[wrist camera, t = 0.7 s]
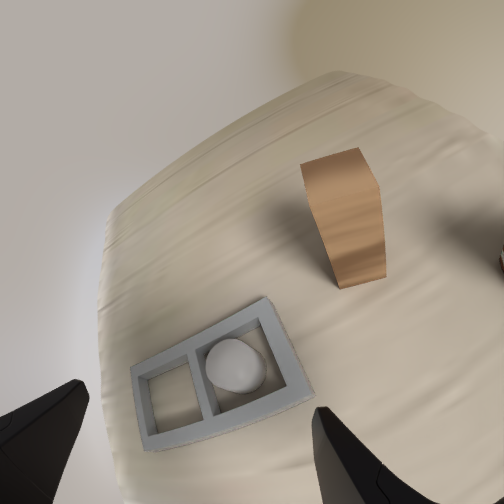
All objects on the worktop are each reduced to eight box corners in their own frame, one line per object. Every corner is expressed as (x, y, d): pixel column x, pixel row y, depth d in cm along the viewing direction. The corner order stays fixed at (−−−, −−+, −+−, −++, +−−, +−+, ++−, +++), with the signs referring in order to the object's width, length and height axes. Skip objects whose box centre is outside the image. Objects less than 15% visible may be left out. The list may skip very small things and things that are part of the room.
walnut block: (386, 277, 23) (379, 186, 15) (339, 289, 24) (309, 206, 16) (374, 238, 26) (358, 147, 18) (332, 250, 27) (300, 164, 19)
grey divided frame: (316, 395, 20) (307, 391, 18) (155, 452, 21) (134, 450, 19) (272, 303, 27) (260, 289, 24) (139, 371, 28) (121, 363, 26)
